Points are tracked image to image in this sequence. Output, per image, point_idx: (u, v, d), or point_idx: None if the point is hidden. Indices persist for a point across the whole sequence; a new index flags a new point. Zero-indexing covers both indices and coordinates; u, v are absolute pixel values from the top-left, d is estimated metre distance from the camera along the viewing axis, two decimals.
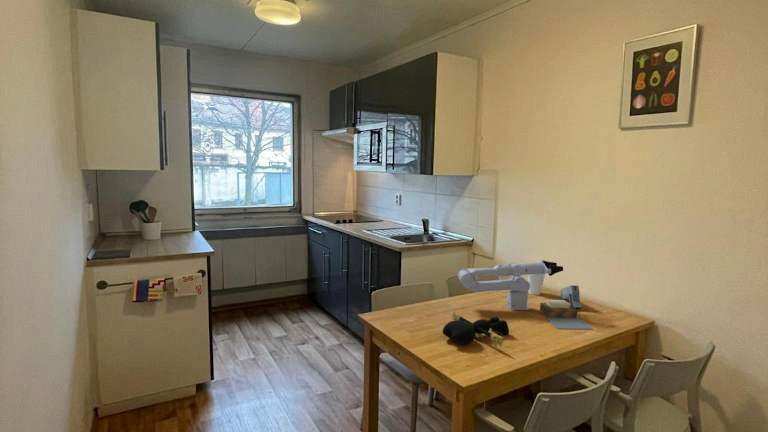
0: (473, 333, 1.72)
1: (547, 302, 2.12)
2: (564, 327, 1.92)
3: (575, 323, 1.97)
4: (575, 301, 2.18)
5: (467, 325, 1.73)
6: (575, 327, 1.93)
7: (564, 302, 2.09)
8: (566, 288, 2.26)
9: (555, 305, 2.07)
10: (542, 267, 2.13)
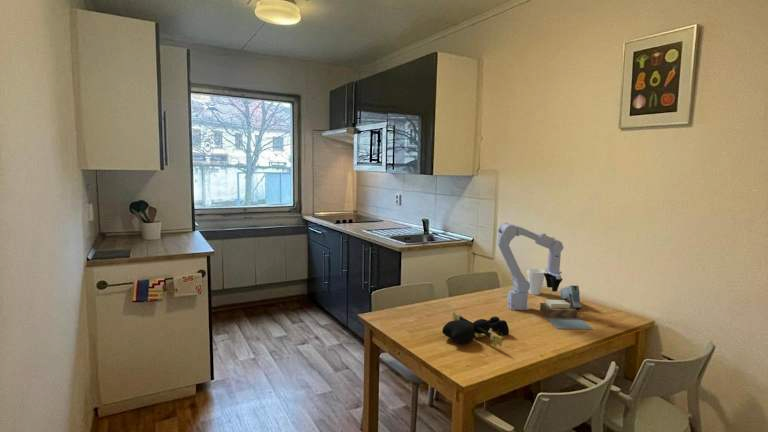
0: (473, 333, 1.72)
1: (547, 302, 2.12)
2: (564, 327, 1.92)
3: (575, 323, 1.97)
4: (575, 301, 2.18)
5: (467, 325, 1.74)
6: (575, 327, 1.93)
7: (564, 302, 2.09)
8: (566, 288, 2.26)
9: (555, 305, 2.07)
10: (557, 272, 2.14)
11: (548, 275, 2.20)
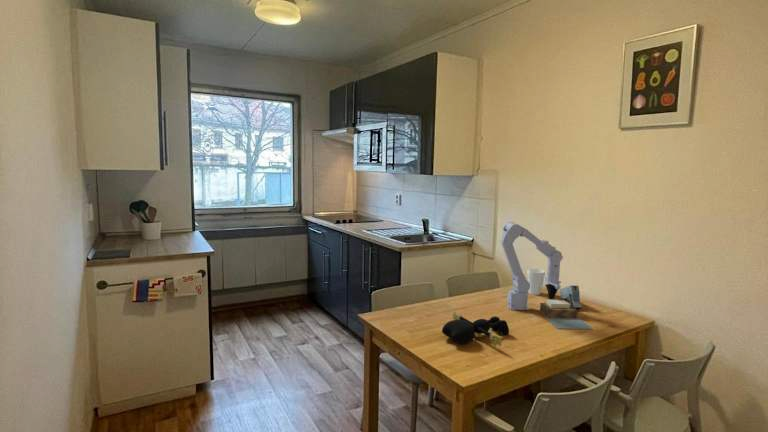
0: (472, 332, 1.72)
1: (547, 302, 2.12)
2: (564, 327, 1.92)
3: (575, 323, 1.97)
4: (575, 301, 2.18)
5: (466, 324, 1.74)
6: (575, 327, 1.93)
7: (564, 302, 2.09)
8: (566, 288, 2.26)
9: (555, 305, 2.07)
10: (556, 281, 2.14)
11: None
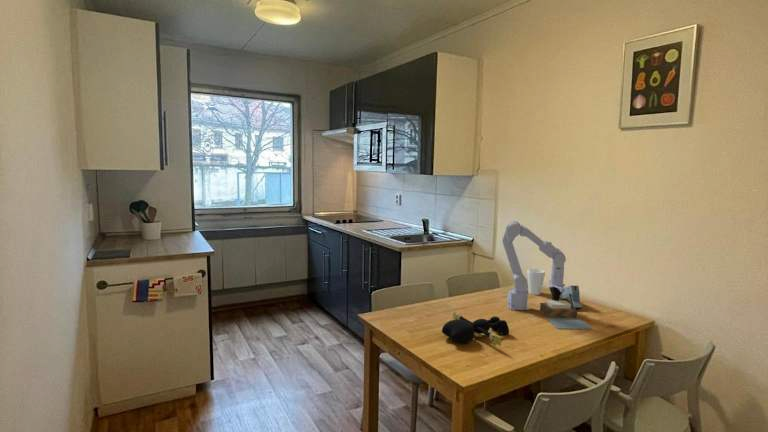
0: (472, 332, 1.73)
1: (548, 303, 2.11)
2: (564, 327, 1.92)
3: (575, 323, 1.97)
4: (575, 301, 2.18)
5: (466, 324, 1.74)
6: (575, 327, 1.93)
7: (565, 303, 2.08)
8: (566, 288, 2.26)
9: (556, 306, 2.06)
10: (561, 284, 2.09)
11: None
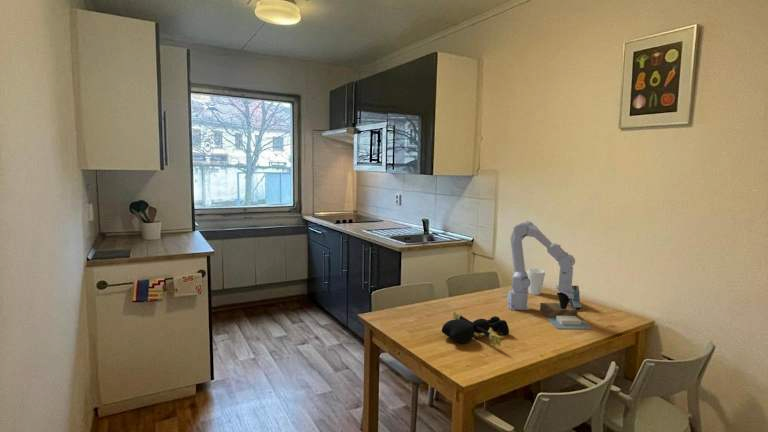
0: (471, 332, 1.73)
1: (560, 321, 1.97)
2: (564, 327, 1.92)
3: None
4: (575, 301, 2.18)
5: (466, 324, 1.74)
6: (575, 327, 1.93)
7: None
8: None
9: None
10: (569, 290, 2.00)
11: None
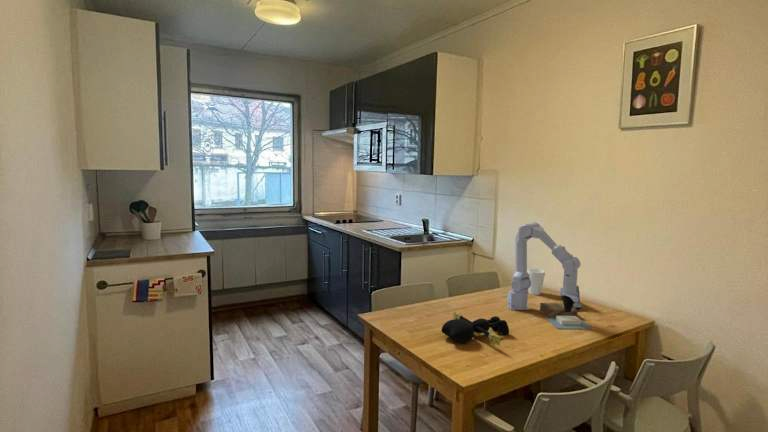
0: (471, 332, 1.73)
1: (560, 321, 1.97)
2: (564, 327, 1.92)
3: None
4: None
5: (465, 324, 1.75)
6: (575, 327, 1.93)
7: None
8: None
9: None
10: (573, 293, 1.96)
11: None
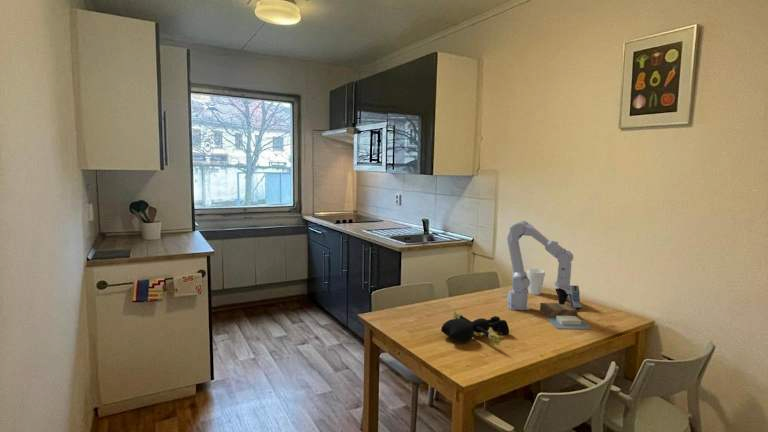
0: (471, 332, 1.73)
1: (560, 321, 1.97)
2: (564, 327, 1.92)
3: None
4: (575, 301, 2.18)
5: (465, 323, 1.75)
6: (575, 327, 1.93)
7: None
8: None
9: None
10: (567, 286, 2.02)
11: None
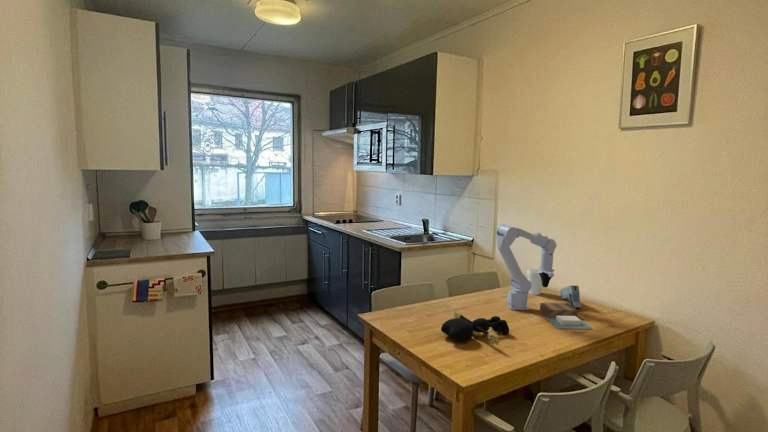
0: (470, 331, 1.74)
1: (560, 321, 1.97)
2: (564, 327, 1.92)
3: None
4: (575, 301, 2.18)
5: (465, 323, 1.75)
6: (575, 327, 1.93)
7: None
8: (566, 288, 2.26)
9: None
10: (550, 270, 2.18)
11: None
